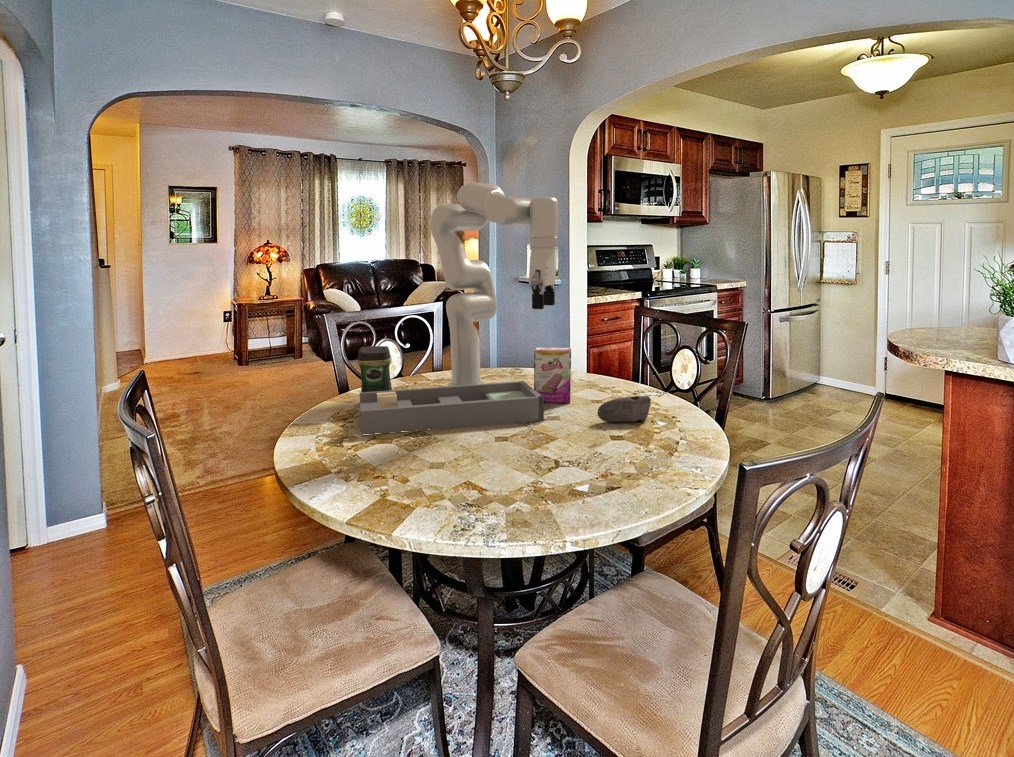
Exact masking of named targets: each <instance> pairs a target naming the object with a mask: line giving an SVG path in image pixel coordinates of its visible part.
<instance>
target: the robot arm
mask: <svg viewBox="0 0 1014 757" xmlns="http://www.w3.org/2000/svg"><path fill="white" fill-rule="evenodd" d="M456 196H457V197H456V199H457V202H458V203H443V204H441V205H437V206H436V207H435V208H434V209H433V210H432V213H431V216H430V230H431V234H432V238H433V240H434V242H435V245H436V247H437V249H438V253H439V259H440V264H441V268H442V274H443V278H444V281H445V284H446V286H447V288H448V289H450V290H453V291H464V290H473V292H472V291H471V292H459V293H456V294H453V295H451V296H450V297H449V298H448V299H447V300H446V305H445V308H446V310H445V311H446V315H447V319H448V325H449V335H450V336H449V338H450V360H451V362H450V364H451V382H449V383H448V384H447V386H459V385H473V384H486V383H485V382H483V381H481V358H480V357H481V354H480V352H481V351H480V350H481V349H480V333H479V330H478V329H477V328H476V325H475V324H474V323H473V322H477V321H488V320H491V319H493V318H494V317H495V316H496V314H497V312H498V303H497V302H498V301H497V296H496V291H495V287H494V282H493V281H494V280H493V277H492V273H491V270H490V268H489V265H488V264H487V263H486V262H484V260H480V259H469V258H467V252H466V248H465V246H464V243H463V242H462V240H461V239H460V238H459V236H457V234H456V233H455V232H477V231H479V230H481V229H483V228H484V227H485V226H486V225H487V224H488V223H489V222H491V223H495V224H499V225H503V226H507V227H509V226H520V227H521V226H527V227H529V250H530V257H529V270H528V271H529V272H528V273H529V274H528V286H530V287H531V308H532V310H544V308H545V306H555V304H556V299H555V298H556V294H555V292H556V288H555V287H556V286H555V285H556V279H557V278H556V277H557V276H556V275H557V271H556V270H557V268H556V267H557V263H556V250H558V236H559V235H558V233H559V232H558V230H559V227H558V225H559V222H558V221H559V218H558V217H559V212H558V211H559V208H558V207H559V204H558V202H559V201H558V199H557V198H555V197H553V196H536V197H518V196H513V197H512V196H511V197H510V196H506V195H505V193H504V192H503V191H502V189H501V187H499V186H498V185H496V184H494V183H485V182H468V183H464V184H463V185H461V187H460V188H459V189H458V191H457V194H456Z"/></svg>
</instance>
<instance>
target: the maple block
mask: <svg viewBox="0 0 1014 757" xmlns="http://www.w3.org/2000/svg"><path fill="white" fill-rule="evenodd" d="M377 404H378V409H380V408H393V407H398V404H397V394H396V392H383V393H377Z"/></svg>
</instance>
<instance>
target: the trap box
mask: <svg viewBox="0 0 1014 757" xmlns="http://www.w3.org/2000/svg"><path fill="white" fill-rule="evenodd" d="M383 392H396V394H397V404H398V407H393V408H380V409H378V404H377V393H383ZM544 404H545V403H544V397H543V396H542V395H540V394H539V393H538V392H537V391H535V390H534V387H532V386H530V385H529V384H528V383H527V382H525V381H524V380H517V381H504V382H490V383H488V382H487V383H485V384H473V385H459V386H448V385H446V386H433V387H432V386H431V387H419V388H405V389H392V390H388V391H374V392H359V406H360V407H359V408H360V422H361V432H362V433H361V434H362V435H363V434H375V433H390V432H401V431H414V432H417V431H416V430H426V431H432V430H431V429H438V430H447V428H449V429H460V428H469V427H470V428H471V427H480V426H481V427H482V426H493V425H503V424H505V425H506V424H517V423H518V424H519V423H529V422H538V421H539V422H540V421H541V422H542V421H544V420H545V405H544ZM428 429H430V430H428ZM362 435H361V436H362Z"/></svg>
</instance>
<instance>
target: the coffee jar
mask: <svg viewBox="0 0 1014 757" xmlns="http://www.w3.org/2000/svg"><path fill="white" fill-rule="evenodd" d="M391 356H392V355H391V351H390V348H389V346H387V345H372V346H362V347H360V348H358V352H357V364H358V366H359V369H360V378H361V382H360V383H361V392H374V391H388V390H393V388H392V386H393V385H392V381H391V375H390V374H391V373H390V372H391V371H390V365H391V362H392V357H391Z"/></svg>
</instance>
